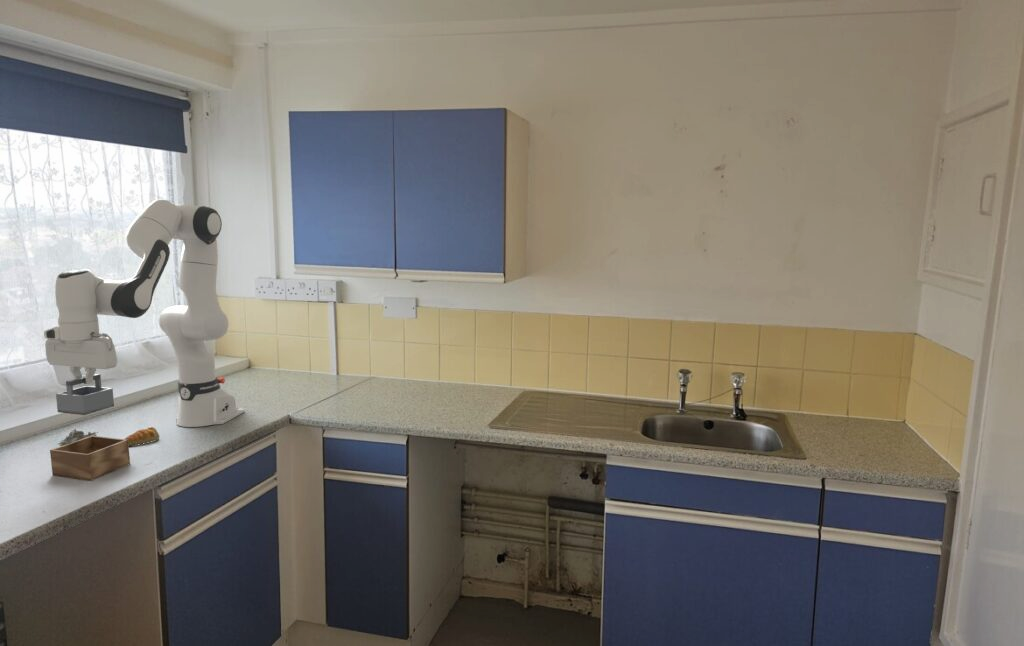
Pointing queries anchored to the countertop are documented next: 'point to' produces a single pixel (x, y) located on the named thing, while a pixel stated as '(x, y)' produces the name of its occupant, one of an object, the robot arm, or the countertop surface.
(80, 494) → the countertop surface
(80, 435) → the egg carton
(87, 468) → the big crate
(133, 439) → the pastry
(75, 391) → the small crate
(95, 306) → the robot arm
